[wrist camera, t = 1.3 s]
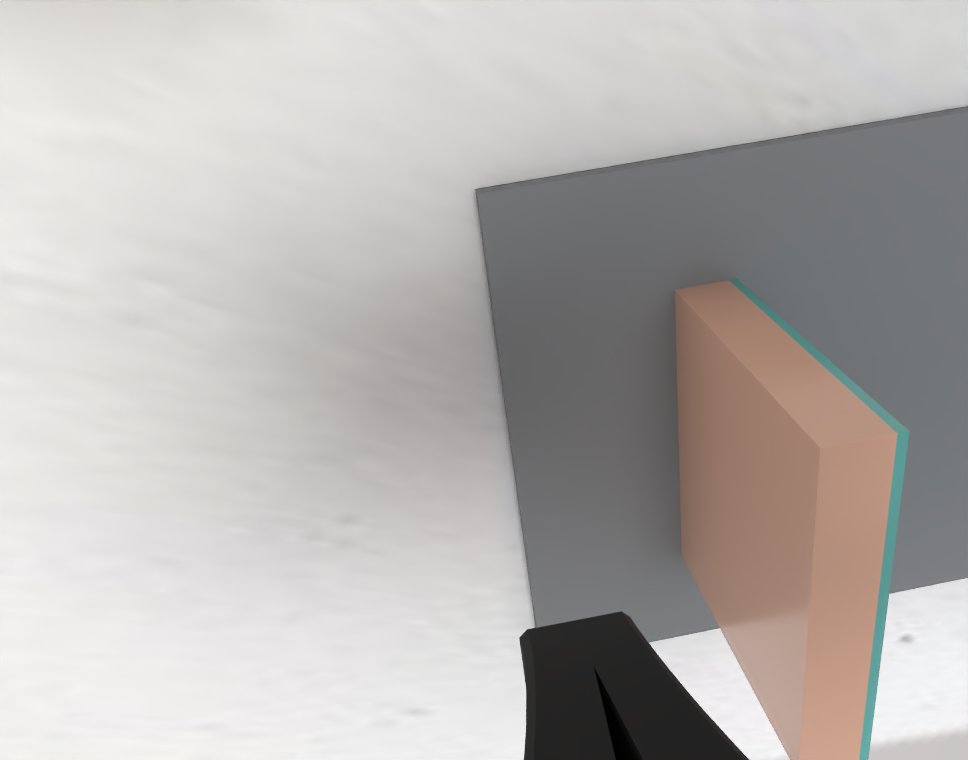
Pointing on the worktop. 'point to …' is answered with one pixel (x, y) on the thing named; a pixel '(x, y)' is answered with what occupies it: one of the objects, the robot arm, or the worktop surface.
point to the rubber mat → (652, 340)
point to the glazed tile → (787, 514)
